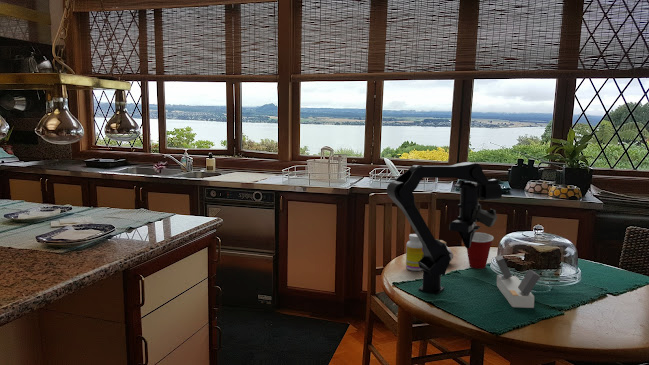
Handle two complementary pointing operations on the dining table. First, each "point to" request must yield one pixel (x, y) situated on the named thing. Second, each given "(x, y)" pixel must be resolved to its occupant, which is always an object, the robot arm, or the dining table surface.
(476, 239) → the plastic cup
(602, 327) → the dining table surface
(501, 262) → the lever grey tag
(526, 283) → the grey rectangular block
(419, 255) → the supplement bottle
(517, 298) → the switch console
